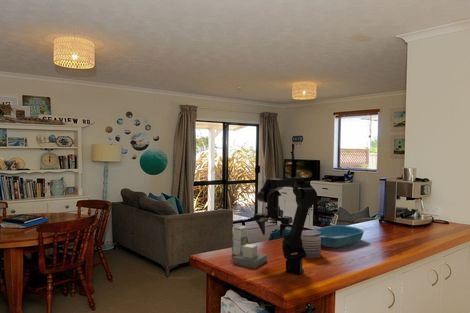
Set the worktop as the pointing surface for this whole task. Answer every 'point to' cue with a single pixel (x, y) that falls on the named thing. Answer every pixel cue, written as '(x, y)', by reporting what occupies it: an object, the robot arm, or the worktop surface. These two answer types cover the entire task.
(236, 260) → the plinth
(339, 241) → the casserole dish
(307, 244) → the can
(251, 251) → the cube
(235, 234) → the syrup box
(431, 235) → the worktop surface
